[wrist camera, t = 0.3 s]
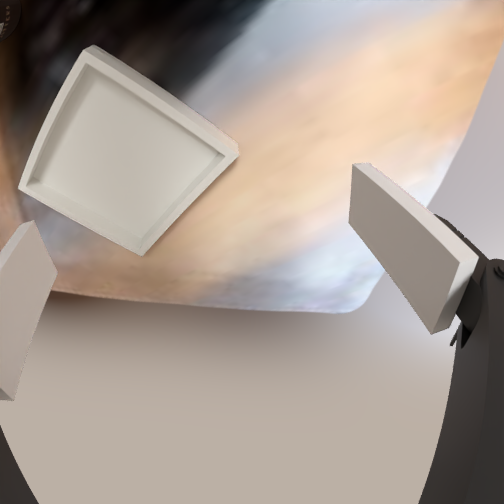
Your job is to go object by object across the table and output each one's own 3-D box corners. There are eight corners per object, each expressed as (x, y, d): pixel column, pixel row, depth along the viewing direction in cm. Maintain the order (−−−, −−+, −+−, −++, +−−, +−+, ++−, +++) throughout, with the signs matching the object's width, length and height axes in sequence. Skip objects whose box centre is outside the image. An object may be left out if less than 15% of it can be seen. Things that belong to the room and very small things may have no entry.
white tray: (94, 44, 24) (83, 49, 22) (237, 142, 35) (239, 155, 33) (27, 175, 34) (17, 188, 32) (145, 241, 45) (141, 256, 43)
